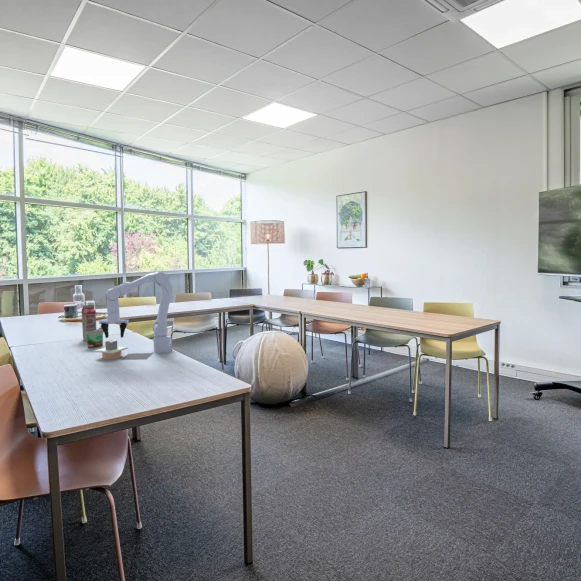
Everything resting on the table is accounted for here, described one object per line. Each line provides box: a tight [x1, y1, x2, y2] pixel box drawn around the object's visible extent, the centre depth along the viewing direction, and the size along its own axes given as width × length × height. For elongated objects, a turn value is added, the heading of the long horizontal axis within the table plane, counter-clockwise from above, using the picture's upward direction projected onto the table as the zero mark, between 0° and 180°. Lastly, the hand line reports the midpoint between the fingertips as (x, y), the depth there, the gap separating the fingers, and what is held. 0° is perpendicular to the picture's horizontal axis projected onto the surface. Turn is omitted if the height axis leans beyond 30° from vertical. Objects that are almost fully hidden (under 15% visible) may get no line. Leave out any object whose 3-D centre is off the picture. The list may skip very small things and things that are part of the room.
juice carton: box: [81, 304, 97, 342], centre depth 258 cm, size 7×7×22 cm
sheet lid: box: [94, 339, 129, 354], centre depth 215 cm, size 11×11×5 cm
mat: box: [120, 352, 154, 361], centre depth 216 cm, size 13×13×1 cm
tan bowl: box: [101, 351, 123, 360], centre depth 215 cm, size 9×9×4 cm
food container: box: [86, 327, 104, 349], centre depth 241 cm, size 12×6×10 cm, turn 168°
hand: (114, 337), depth 216 cm, fingers open, 7 cm apart
